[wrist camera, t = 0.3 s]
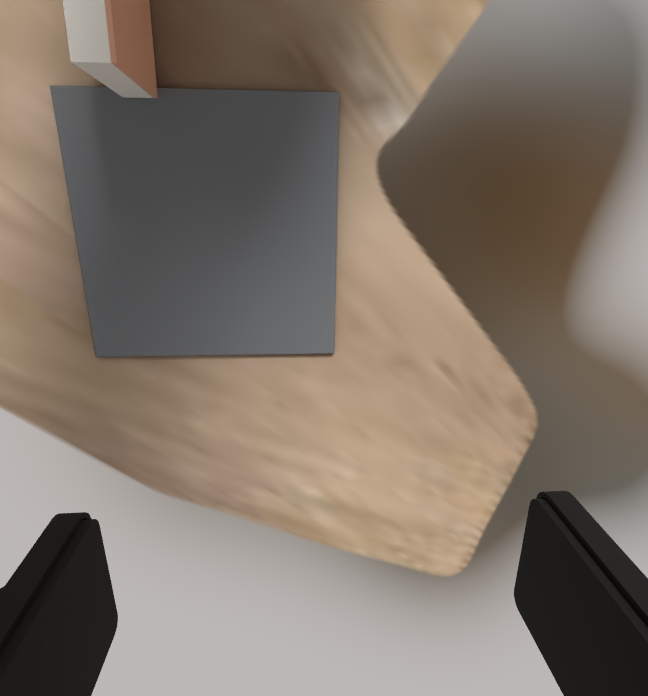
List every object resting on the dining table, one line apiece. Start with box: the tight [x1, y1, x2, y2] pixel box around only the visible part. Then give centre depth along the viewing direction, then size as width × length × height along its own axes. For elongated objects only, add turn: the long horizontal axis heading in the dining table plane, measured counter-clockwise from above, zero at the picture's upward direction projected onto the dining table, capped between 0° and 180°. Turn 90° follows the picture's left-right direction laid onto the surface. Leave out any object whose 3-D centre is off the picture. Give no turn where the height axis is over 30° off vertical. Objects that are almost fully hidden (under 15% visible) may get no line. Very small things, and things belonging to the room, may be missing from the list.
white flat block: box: [63, 0, 158, 98], centre depth 28 cm, size 7×2×8 cm, turn 0°
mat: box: [50, 86, 339, 357], centre depth 36 cm, size 20×20×1 cm
